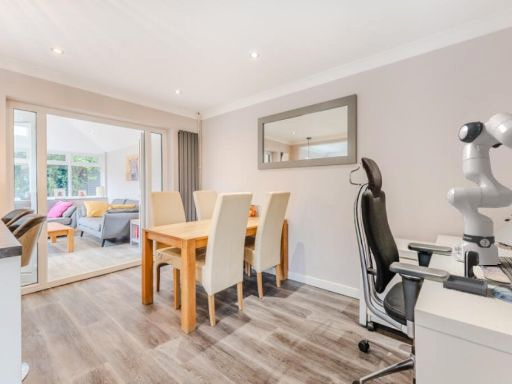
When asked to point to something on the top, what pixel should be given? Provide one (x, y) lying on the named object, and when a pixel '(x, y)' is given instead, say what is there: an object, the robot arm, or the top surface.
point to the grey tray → (466, 284)
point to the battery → (470, 263)
